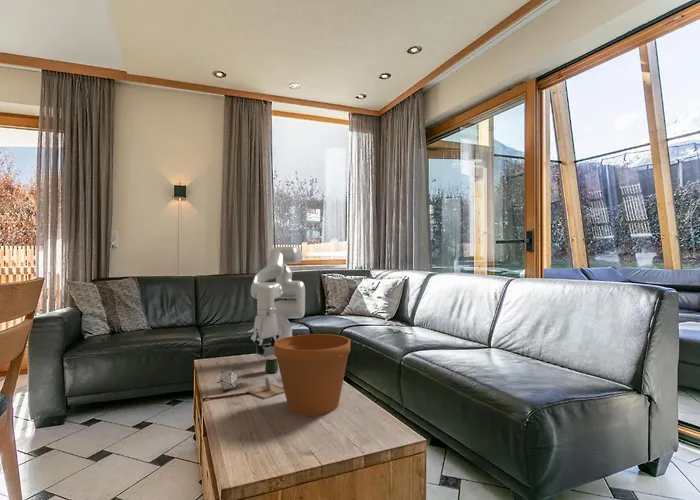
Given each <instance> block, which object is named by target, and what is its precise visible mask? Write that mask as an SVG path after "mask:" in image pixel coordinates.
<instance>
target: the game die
mask: <svg viewBox="0 0 700 500" xmlns="http://www.w3.org/2000/svg"><path fill="white" fill-rule="evenodd" d="M234 370H235V368H232V370H229V371H228V370H227V371H223V370H221V371H220V372H221V374H220V377H219V380H218V381H217V382H216V383H217V384H219V385H220V386H221V388H222V389H223V390H222V392H225V390H231V389H234V390H237V388H236V385H237V383H238V380H239V379H241V377H240V376H239V377H238V376H237V374H236V373H235V371H234Z"/></svg>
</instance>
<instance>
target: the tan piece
mask: <svg viewBox="0 0 700 500" xmlns="http://www.w3.org/2000/svg"><path fill="white" fill-rule="evenodd" d="M264 383H265V384H264V385H261V386H259V387H255V388H252V389H250V390H249V389H248V390H247V391H246V393H248V394H250V395H253V396H256V397H258V398H261V399H263V400H266V399H270V398H273V397H275V396H279V395H282V394H285V391H284V387H282V386H280V385H279V386H278V385H277V384H274V383H271V377H270V376H269V377H265V381H264Z"/></svg>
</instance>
